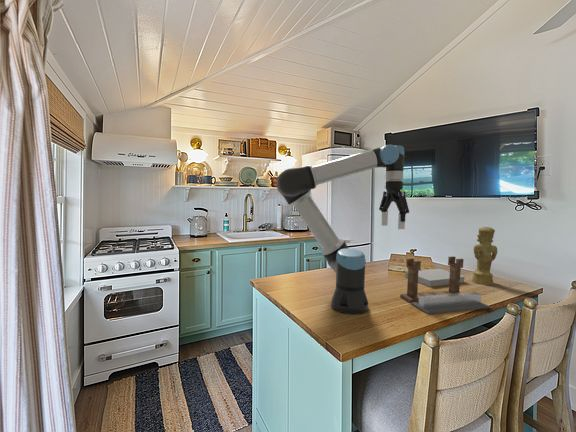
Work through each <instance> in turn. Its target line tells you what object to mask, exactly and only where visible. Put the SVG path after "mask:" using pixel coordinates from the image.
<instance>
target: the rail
mask: <svg viewBox="0 0 576 432" xmlns="http://www.w3.org/2000/svg"><path fill="white" fill-rule="evenodd" d="M477 303H482V294H481V293H479V292H477V291H468V292H460V293H453V294H441V295H428V296H419V306H420V307H422V308H434V307H444V306H455V305H466V304H477Z"/></svg>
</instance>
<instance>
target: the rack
mask: <svg viewBox="0 0 576 432" xmlns="http://www.w3.org/2000/svg"><path fill="white" fill-rule="evenodd" d="M447 260H448V261H447V265H448V266H449V272H450V277H449V285H448V290H436V291H424V292H423V291H422V292H418V288H419V286H418V285H419V282H418V271H421V267H422V262H421V261H420V260H415V258H406V265H405V266H406V268H407V272H408V278H407V288H406V290H407V291H406V293H400V296H399V297H400V298H401V299H402V300H404V301H405V302H407V303H408V304H411V303H413V302H419V296H428V295H441V294H453V293H461V291H460V285H461V283H460V275H461V270H462V269H463V268H464V258H456V256H453V255H452V256H448V259H447Z"/></svg>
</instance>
